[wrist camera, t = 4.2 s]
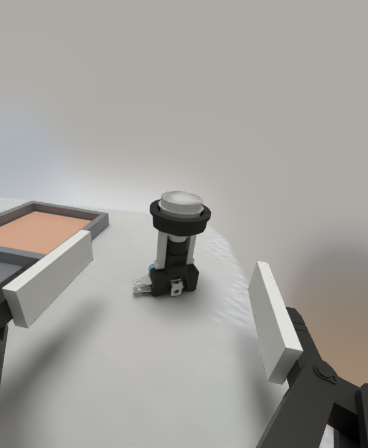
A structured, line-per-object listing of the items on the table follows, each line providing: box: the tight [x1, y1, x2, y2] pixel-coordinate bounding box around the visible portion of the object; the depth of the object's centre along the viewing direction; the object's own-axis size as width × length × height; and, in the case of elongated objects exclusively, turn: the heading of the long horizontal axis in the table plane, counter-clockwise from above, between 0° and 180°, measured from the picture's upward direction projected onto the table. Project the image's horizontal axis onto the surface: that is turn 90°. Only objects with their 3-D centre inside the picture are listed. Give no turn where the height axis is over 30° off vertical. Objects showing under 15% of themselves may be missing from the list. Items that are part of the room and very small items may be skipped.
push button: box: [133, 191, 211, 296], centre depth 19 cm, size 7×5×10 cm
